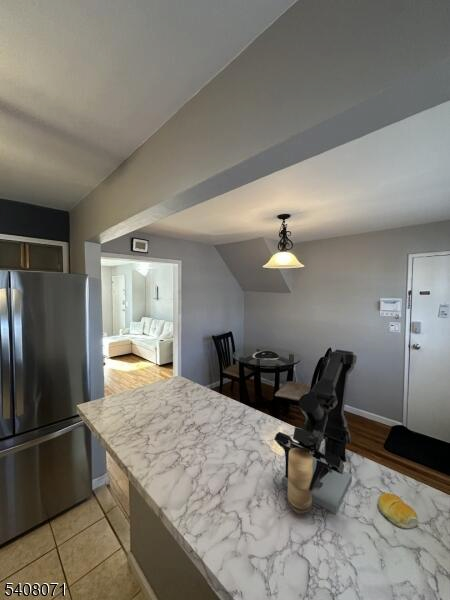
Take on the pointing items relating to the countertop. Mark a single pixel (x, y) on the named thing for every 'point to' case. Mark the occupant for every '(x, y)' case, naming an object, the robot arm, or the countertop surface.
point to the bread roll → (397, 511)
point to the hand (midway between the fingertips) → (298, 483)
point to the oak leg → (300, 479)
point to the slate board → (329, 489)
